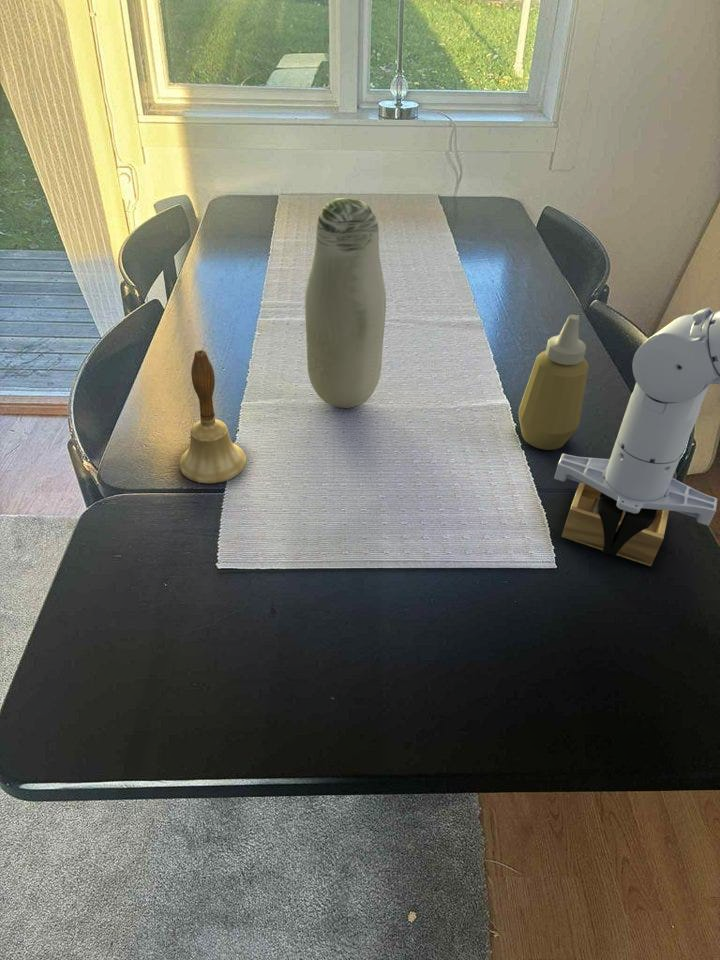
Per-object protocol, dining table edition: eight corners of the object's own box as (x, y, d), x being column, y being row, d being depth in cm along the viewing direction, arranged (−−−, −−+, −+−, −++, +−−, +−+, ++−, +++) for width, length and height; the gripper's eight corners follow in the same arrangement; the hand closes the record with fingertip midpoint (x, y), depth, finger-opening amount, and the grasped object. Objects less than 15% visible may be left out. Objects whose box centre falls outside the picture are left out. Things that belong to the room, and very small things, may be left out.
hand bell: (220, 434, 93) (207, 327, 83) (259, 464, 89) (250, 354, 78) (166, 461, 89) (145, 351, 78) (205, 493, 84) (187, 381, 74)
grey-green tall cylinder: (294, 395, 100) (287, 196, 82) (350, 372, 105) (355, 180, 87) (336, 428, 95) (338, 223, 76) (393, 403, 100) (408, 204, 81)
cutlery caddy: (651, 566, 77) (663, 538, 74) (561, 537, 80) (570, 509, 77) (660, 521, 83) (672, 493, 80) (576, 495, 86) (585, 468, 83)
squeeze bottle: (569, 422, 97) (603, 303, 86) (577, 459, 91) (614, 336, 79) (511, 417, 98) (536, 298, 86) (515, 453, 92) (542, 331, 80)
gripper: (560, 445, 63) (532, 549, 72) (731, 494, 58) (679, 599, 67) (577, 405, 68) (549, 507, 77) (737, 448, 63) (687, 551, 72)
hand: (610, 547), depth 72 cm, fingers closed
